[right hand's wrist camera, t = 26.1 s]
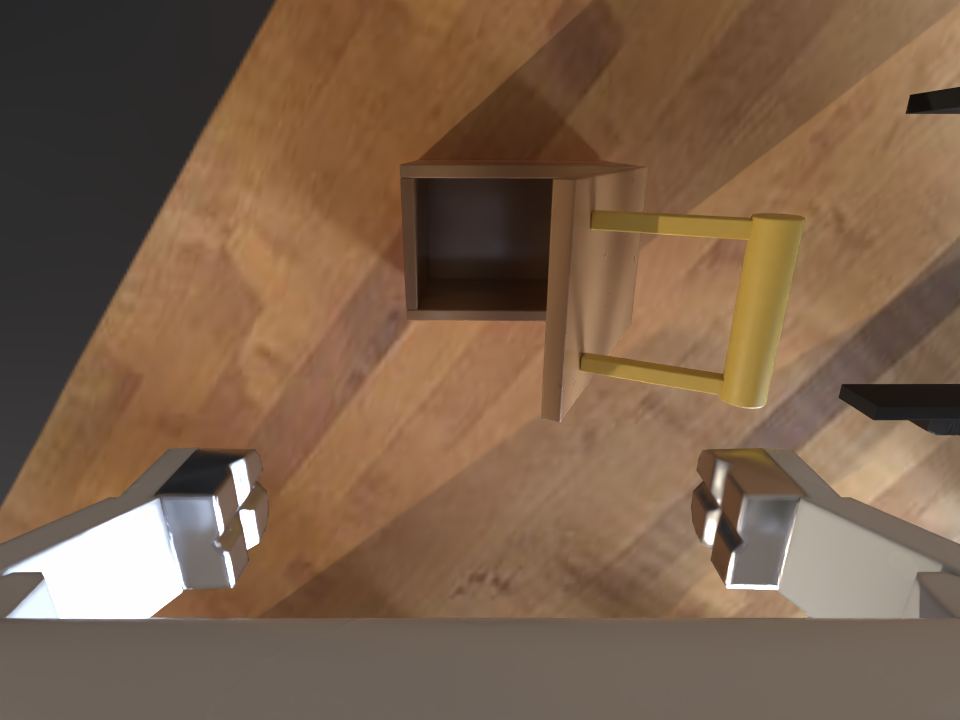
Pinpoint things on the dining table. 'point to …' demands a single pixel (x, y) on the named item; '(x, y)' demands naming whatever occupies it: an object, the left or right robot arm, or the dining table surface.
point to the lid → (611, 287)
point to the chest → (480, 236)
